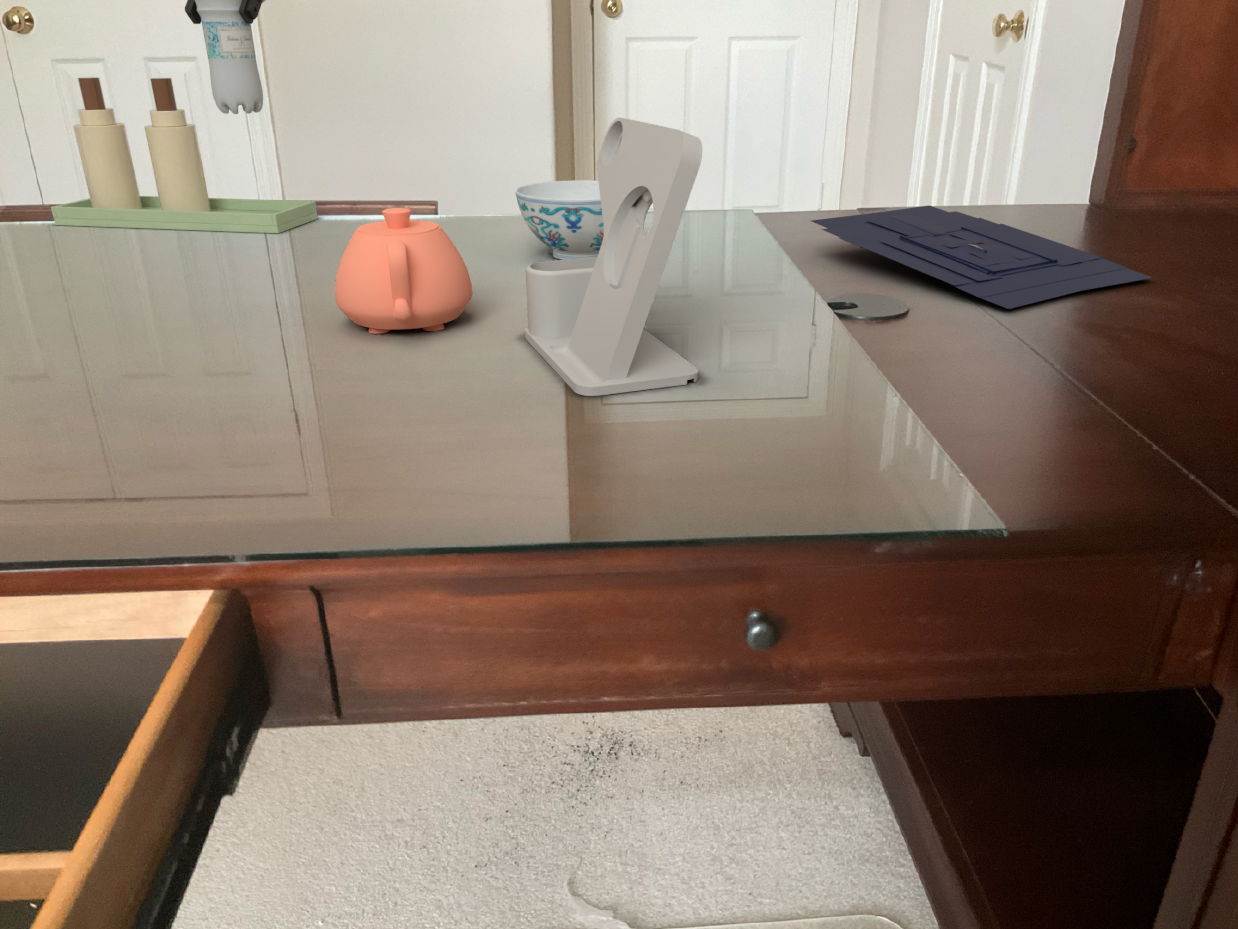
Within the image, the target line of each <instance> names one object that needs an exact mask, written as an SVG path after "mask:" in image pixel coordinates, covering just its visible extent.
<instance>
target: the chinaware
mask: <svg viewBox="0 0 1238 929" xmlns="http://www.w3.org/2000/svg"><path fill="white" fill-rule="evenodd" d="M514 193H515V198H516V201H517V206H518V208H519V211H520V213H521V216H522V218H523V221H524V222H525V224H526V226H527V228H529V230H530V231H531V233H532V234H533V235H534V236H535V237H536V239H538V240H539V241H541V243H543V244H544V245H546V247H549V248H550V249H551V250H552V257H553V258H555V259H557V260H567V259H580V258H593V257H598V254H599V251H600V248H601V244H602V241H603V237H604V224H603V216H602V207H601V199H600V191H599V182H598V180H594V179H593V180H591V179H590V180H589V179H586V180H583V179H582V180H581V179H580V180H579V179H578V180H577V179H576V180H553V181H543V182H535V183H529V184H525V185H522V186H519V187H517V188H516V189H515V192H514Z"/></svg>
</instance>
